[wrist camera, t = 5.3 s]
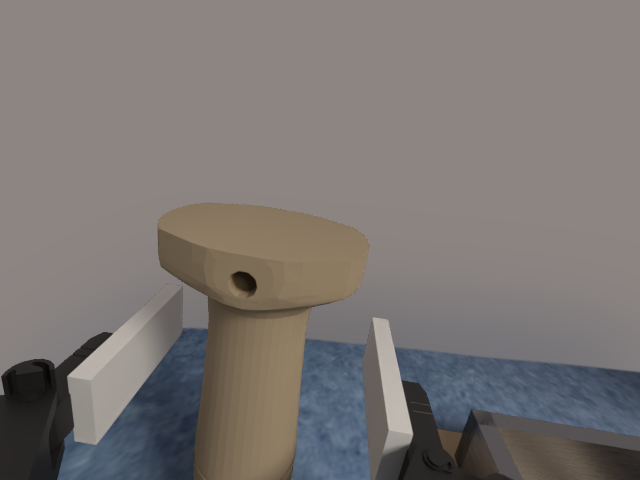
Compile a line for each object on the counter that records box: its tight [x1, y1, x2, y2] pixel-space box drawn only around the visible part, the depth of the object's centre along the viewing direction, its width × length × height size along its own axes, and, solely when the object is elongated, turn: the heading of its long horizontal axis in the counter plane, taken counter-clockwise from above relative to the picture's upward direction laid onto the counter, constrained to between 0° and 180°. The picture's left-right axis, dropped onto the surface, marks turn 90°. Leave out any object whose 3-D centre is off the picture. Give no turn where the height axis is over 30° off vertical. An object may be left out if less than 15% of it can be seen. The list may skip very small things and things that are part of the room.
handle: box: [158, 203, 369, 480], centre depth 13 cm, size 5×6×15 cm
